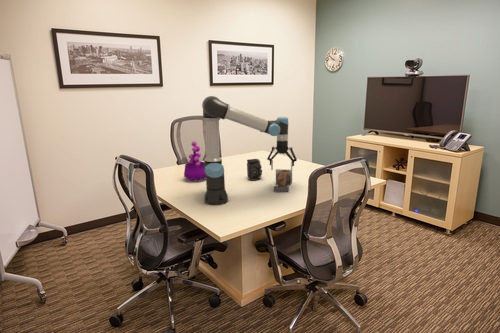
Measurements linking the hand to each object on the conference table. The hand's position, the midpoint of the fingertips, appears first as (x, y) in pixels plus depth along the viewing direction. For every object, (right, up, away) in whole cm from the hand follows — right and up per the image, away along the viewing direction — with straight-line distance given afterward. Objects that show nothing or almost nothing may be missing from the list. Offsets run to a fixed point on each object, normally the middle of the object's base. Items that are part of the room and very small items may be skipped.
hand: (281, 170), depth 228 cm
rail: (+1, -9, +3) cm, 10 cm away
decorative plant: (-63, -8, +28) cm, 70 cm away
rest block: (-1, -14, -4) cm, 15 cm away
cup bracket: (+2, -10, +11) cm, 15 cm away
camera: (-18, -7, +25) cm, 31 cm away
